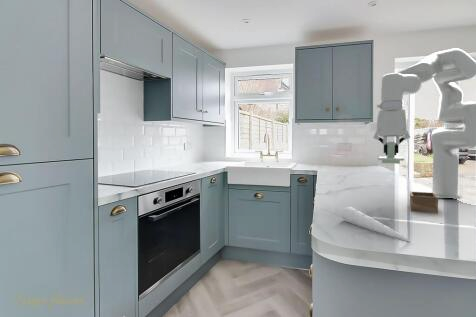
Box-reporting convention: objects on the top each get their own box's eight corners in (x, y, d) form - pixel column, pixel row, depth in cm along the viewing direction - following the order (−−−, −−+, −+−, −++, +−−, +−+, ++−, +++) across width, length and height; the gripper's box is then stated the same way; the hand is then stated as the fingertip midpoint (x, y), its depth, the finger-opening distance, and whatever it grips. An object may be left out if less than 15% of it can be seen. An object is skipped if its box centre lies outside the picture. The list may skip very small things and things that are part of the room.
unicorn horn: (397, 244, 74) (398, 225, 74) (340, 221, 97) (340, 206, 97) (413, 243, 76) (414, 223, 76) (353, 220, 99) (353, 205, 98)
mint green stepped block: (379, 161, 125) (379, 142, 125) (403, 162, 122) (403, 141, 121) (377, 163, 115) (378, 141, 115) (403, 163, 111) (404, 141, 111)
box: (409, 207, 118) (409, 191, 118) (434, 208, 115) (434, 192, 114) (410, 212, 108) (411, 195, 108) (437, 214, 105) (438, 197, 105)
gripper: (368, 107, 118) (367, 155, 118) (416, 104, 110) (415, 155, 111) (369, 109, 124) (368, 154, 125) (415, 106, 117) (414, 155, 118)
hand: (390, 154), depth 118 cm, fingers closed on mint green stepped block
